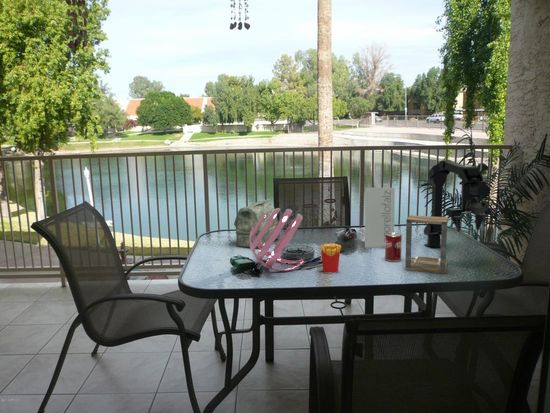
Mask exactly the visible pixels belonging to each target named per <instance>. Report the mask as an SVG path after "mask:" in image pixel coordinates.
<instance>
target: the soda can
mask: <svg viewBox="0 0 550 413" xmlns="http://www.w3.org/2000/svg"><path fill="white" fill-rule="evenodd" d="M402 236H403V235H402V234H401V233H399V232H394V233H387V234H386V235H385V248H384V259H385V260H386V261H388V262H395V263H396V262H400V261H401V260H402V246H403V245H402V238H403V237H402Z"/></svg>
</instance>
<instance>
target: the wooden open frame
mask: <svg viewBox="0 0 550 413" xmlns="http://www.w3.org/2000/svg"><path fill="white" fill-rule="evenodd" d="M405 221H406V225H405V228H406V229H405V231H406V232H405V263H404V265H405V269H404V270H405V271H411V272H421V273H422V272H423V273H431V274H432V273H433V274H441V275H442V274H443V275H446V271H447V266H448V260H447V243H448V242H447V239H448V237H447V236H448V223H449V216H443V217H433V216H431V215H430V216H429V215H413V214H410V215H408V217H407V218H406V220H405ZM413 223H415V224H442V230H441V235H440V239H441V241H440V245H441V247H440V257H435V256H434V257H433V256H422V255H417V256H415V257H412V238H413V237H412V236H413V233H412V231H413V228H412V227H413Z"/></svg>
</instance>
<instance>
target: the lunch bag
mask: <svg viewBox="0 0 550 413" xmlns="http://www.w3.org/2000/svg"><path fill="white" fill-rule="evenodd" d="M275 209H276V208H275V207H274V205H273V203H272V202H271V201H269V200H268V199H262V200H261V199H259V200H258V201H256V202H254V203H252V204H250V205H248V206H244V207H241V208H240V209H238V212H237V213H236V214H237V215H236V216H235V219H234V223H233V226H235V236H236V241H235V242H236V243H235V244H236V246H238V247H242V248H250V240H249V236H250V231H251V229H252V228H253V227H254V228H255V226H256V224H257V223H258V221H259V220H260V218H261V217H262V215H263V214H264V213H265V212H267V211H269V212H268V214H267V216H266V217H265V219H264V220H263V222H262V223H261V225H260V226H259V228H258V230H257V231H256V233H255V236H256V237H257V236H258V234H259V233H260V231H261V230H262V228H263V227H264V225H265V224H266V222H267V220H268V219H269V217H270V216H271V214H272V213H273V211H274V210H275ZM278 219H279V218H278V215H277V216H276V217H275V219H274V220H273V222H272V224H271V225H270V227H269V228H268V230H267V231H266V233H265V234H264V236H263V237H262V239H261V241H260V244H261V245H263V244H264V243H265V241H266V240H267V238H268V237H269V235H270V233H271V232H272V230H273V229H274V227H275V226H276V224H277V223H278V221H279V220H278ZM279 237H280V234H279V235H278V236H277V238H276V239H275V240H277V239H279ZM253 242H254V239H253V237H252V244H253ZM255 249H259V248H258V247H256V248H255Z"/></svg>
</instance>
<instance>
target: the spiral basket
mask: <svg viewBox="0 0 550 413" xmlns="http://www.w3.org/2000/svg"><path fill="white" fill-rule="evenodd" d="M280 211H281V208H279V207H276V208H275V210H274V211H273V213H272V214H271V216H270V217H269V219H268V220H267V222H266V224H265V225H264V227H263V228H262V230H261V231H260V233H259V234H258V236H257V237H256V236H255V233H256V231H257V230H258V228H259V226H260V225H261V223H262V222H263V220H264V219H265V217H266V216H267V214H268V212H269V211H267V212H265V213H264V214H263V215H262V217H261V218H260V220H259V221H258V223H257V224H256V226H255V228H254V227H253V228H252V229H251V231H250V236H249V240H250V247H249V248H250V251H251V253H252V254H253V256H254V258H255V260H256V262H258V263H260V265H262V267H264V268H266V269H267V270H271V271H275V272H282V271H283V272H291V271H293V270H295V269H297V268H299V267H300V266H302V265H303V264H304V261H305V259H303V258H302V259H298V260H288V259H284V258H282V257H281V255H282V254H283V252H284V251H285V249H286V247H287V246H288V245H289V243H290V241H291V240H292V238H293V236H294V235H295V233H296V232H297V230H298V228H299V227H300V224H301V223H302V221H303V219H304V218H303V215H302V214H300V213H297V214H296V215H295V217H294V218H293V219H292V221H291V222H290V224H289V225H288V226H287V228H286V229H285V230H284V233H282V235H281V237H280V238H279V240H278V242H277V243H276V245H275V246H274V248H273V250H272V251H269V250H270V248H271V247H272V245H273V244H274V243H275V241H276V240H277V239H278V238H277V236H278V235H279V236H280V233H281V232H282V230H283V229H284V227H285V225H286V223H288V222H287V221H288V220H290V217H291V215H292V213H293V209H291V208H286V210H285V211H284V212H283V214H282V215H281V216H280V218H279V220H278V223H277V224H276V226H275V227H274V229H273V230H272V232H271V233H270V235H269V237H268V238H267V240H266V241H265V243H264V244H263V245H261V244H260V241H261V239H262V237H263V236H264V234H265V233H266V231H267V230H268V228H269V227H270V225H271V224H272V222H273V220H274V219H275V217H276V216H277V217H278V215H279V212H280ZM252 237H253V239H254V242H253V244H252ZM276 238H277V239H276ZM256 247H258V248H256ZM255 249H258V250H259V251H258V253H256V251H255ZM265 256H267V257H266V258H267V260H266V261H265V262H264V261H263V258H264V257H265ZM276 262H277V263H282V264H286V263H288V264H289V265H291V264H292V265H293V264H297V265H295V266H292V267H290V268H281V269H280V268H276V267H274V265H275V264H276Z"/></svg>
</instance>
